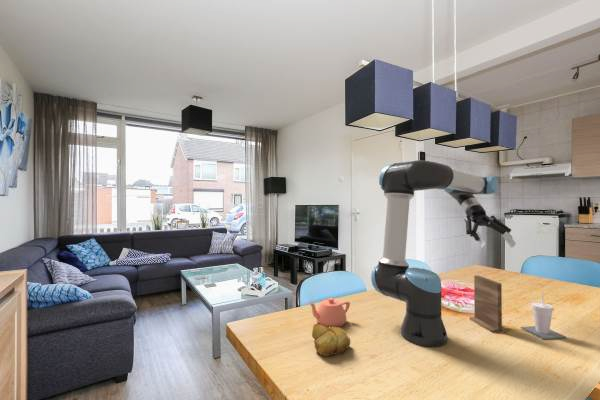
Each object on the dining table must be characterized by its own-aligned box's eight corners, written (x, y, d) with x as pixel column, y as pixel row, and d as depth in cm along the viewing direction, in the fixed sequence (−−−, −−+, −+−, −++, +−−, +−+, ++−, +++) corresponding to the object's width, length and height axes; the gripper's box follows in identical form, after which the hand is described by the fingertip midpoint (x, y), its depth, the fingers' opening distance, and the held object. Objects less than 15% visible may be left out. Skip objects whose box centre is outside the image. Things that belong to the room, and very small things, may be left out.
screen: (492, 332, 105) (492, 283, 105) (469, 319, 117) (469, 275, 117) (507, 331, 106) (506, 283, 106) (483, 318, 118) (482, 275, 118)
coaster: (543, 339, 100) (543, 338, 100) (520, 328, 109) (520, 326, 109) (566, 338, 101) (566, 336, 101) (542, 327, 110) (542, 325, 110)
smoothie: (533, 333, 103) (533, 294, 104) (529, 326, 109) (529, 289, 109) (556, 337, 100) (556, 297, 100) (551, 329, 106) (550, 292, 106)
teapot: (356, 326, 111) (356, 301, 111) (312, 331, 106) (312, 306, 106) (343, 314, 123) (343, 292, 123) (303, 319, 118) (303, 296, 118)
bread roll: (345, 341, 99) (345, 318, 99) (357, 355, 90) (357, 330, 90) (309, 345, 96) (309, 321, 96) (318, 361, 87) (318, 334, 87)
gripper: (493, 214, 140) (520, 250, 125) (445, 215, 137) (467, 251, 122) (501, 204, 135) (531, 240, 119) (452, 204, 132) (476, 240, 117)
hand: (499, 246), depth 121 cm, fingers open, 13 cm apart
